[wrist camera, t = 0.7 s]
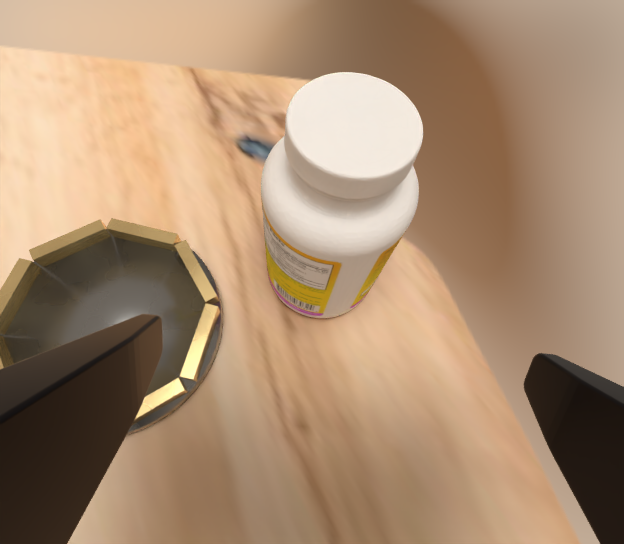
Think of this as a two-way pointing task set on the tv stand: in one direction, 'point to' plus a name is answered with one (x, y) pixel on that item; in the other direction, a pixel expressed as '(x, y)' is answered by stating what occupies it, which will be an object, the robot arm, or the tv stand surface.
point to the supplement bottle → (339, 191)
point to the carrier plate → (116, 303)
